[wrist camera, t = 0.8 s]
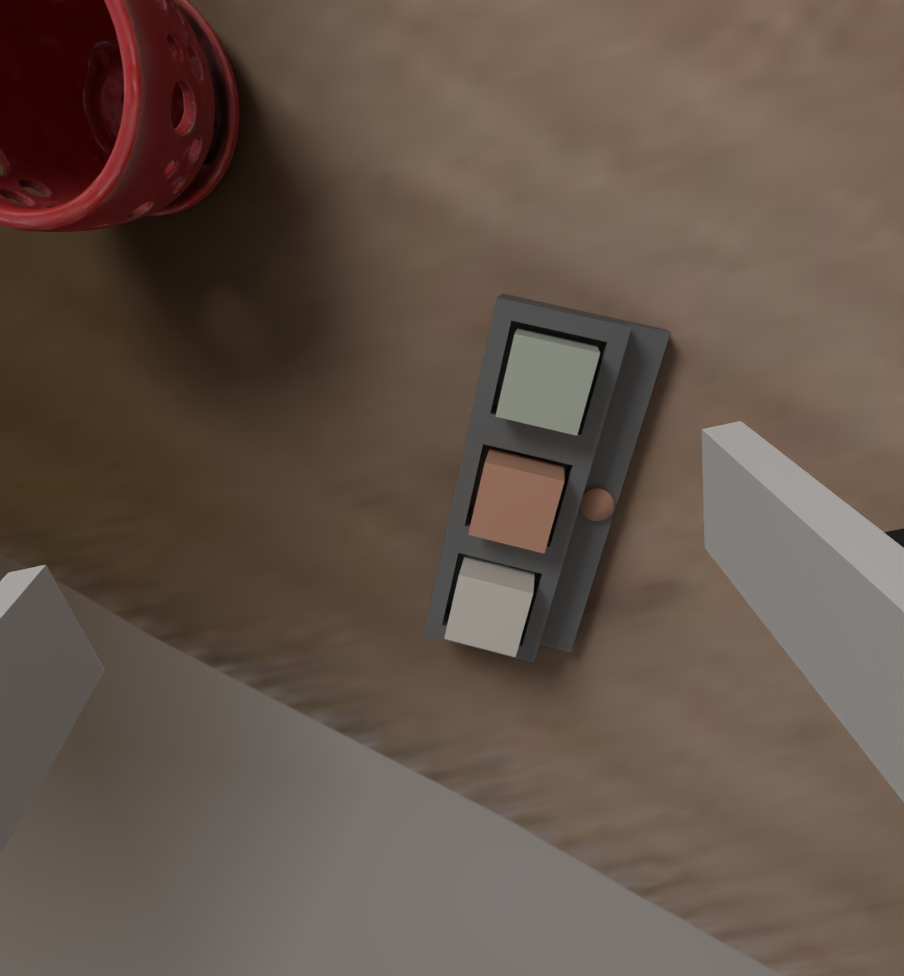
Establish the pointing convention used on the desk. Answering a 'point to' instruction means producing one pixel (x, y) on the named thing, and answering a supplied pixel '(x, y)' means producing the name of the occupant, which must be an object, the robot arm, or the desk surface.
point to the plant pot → (110, 111)
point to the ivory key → (490, 605)
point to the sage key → (547, 381)
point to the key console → (586, 458)
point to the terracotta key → (517, 500)
